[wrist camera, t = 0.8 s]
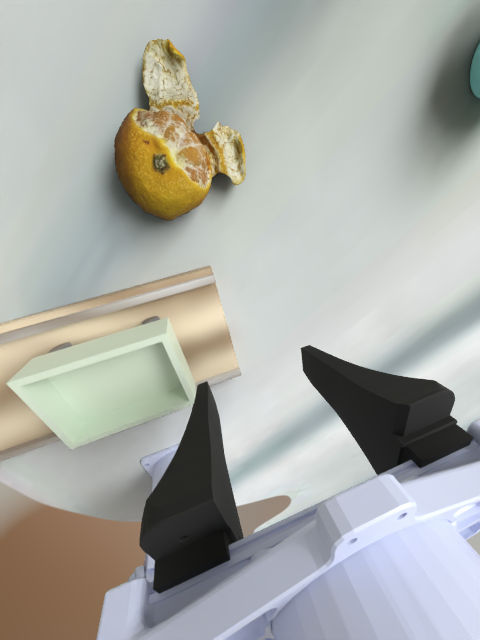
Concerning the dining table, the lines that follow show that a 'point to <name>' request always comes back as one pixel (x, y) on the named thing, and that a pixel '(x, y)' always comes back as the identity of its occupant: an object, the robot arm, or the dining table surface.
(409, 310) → the dining table surface
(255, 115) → the dining table surface
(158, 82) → the fruit
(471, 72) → the cupcake
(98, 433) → the pale green open tray
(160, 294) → the track
